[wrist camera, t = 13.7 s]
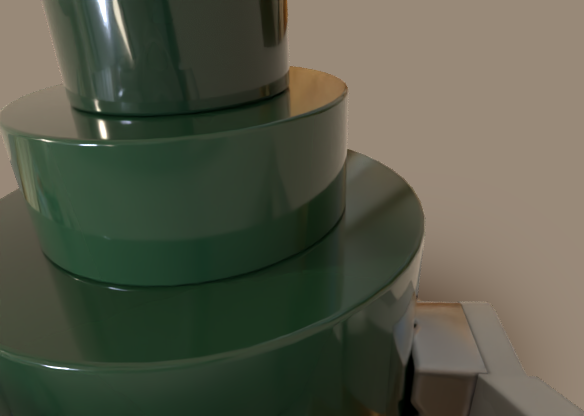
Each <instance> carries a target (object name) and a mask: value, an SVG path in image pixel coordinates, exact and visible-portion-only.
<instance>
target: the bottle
mask: <svg viewBox="0 0 584 416" xmlns="http://www.w3.org/2000/svg"><path fill="white" fill-rule="evenodd" d="M41 2H42V6H43V10H44V14H45V17H46V21H47V25H48V29H49V32H50V36H51V40H52V43H53V47H54V51H55V55H56V59H57V62H58V66H59V70H60V74H61V77H62V81H63V84H60V85H56V86H53V87H49V88H45V89H42V90H39V91H36V92H33V93H31V94H28V95H26V96H23V97H21V98H19V99H17V100H15V101H13V102H11V103H9V104H8V105H7V106H5V107H4V108H2V110H1V111H0V134H1V136H2V139H3V142H4V145H5V148H6V151H7V154H8V156H9V159H10V162H11V165H12V168H13V171H14V174H15V177H16V180H17V182H18V185H19V188H18V189H17V190H15V191H13V192H11V193H10V194H8V195H6V196H5V197H3V198H1V199H0V416H403V415H404V407H405V399H406V390H407V382H408V373H409V365H410V357H411V348H412V340H413V331H414V323H415V315H416V306H417V298H418V289H419V280H420V272H421V264H422V256H423V247H424V239H425V215H424V212H423V208H422V204H421V202H420V200H419V198H418V196H417V194H416V193H415V191H414V190H413V188H412V187H411V186H410V185H409V184H408V182H407V181H406V180H405V179H404V178H403V177H401V176H400V175H399V174H398V173H396V172H395V171H394V170H393V169H391V168H389V167H388V166H386V165H384V164H383V163H381V162H379V161H377V160H375V159H373V158H370V157H368V156H366V155H364V154H361V153H358V152H355V151H353V150H350V149H347V133H348V93H349V91H348V88H347V86H346V83H345V82H344V81H342V80H341V79H339V78H337V77H335V76H333V75H330V74H328V73H325V72H321V71H317V70H312V69H307V68H301V67H293V66H289V40H288V13H287V0H41Z"/></svg>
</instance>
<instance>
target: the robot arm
mask: <svg viewBox="0 0 584 416" xmlns="http://www.w3.org/2000/svg"><path fill="white" fill-rule="evenodd" d="M403 416H584V411H583V410H582V409H581V408H579V407H578V406H576V405H575V404H573V403H572V402H571V401H570V400H568V399H567V398H565V397H564V396H563V395H562V394H560V393H559V392H557V391H556V390H555V389H554V388H552V387H551V386H549V385H548V384H547V383H545V382H544V381H542V380H541V379H540V378H539V377H532V376H527V374H526V372H525V370H524V368H523V366H522V364H521V362H520V360H519V358H518V356H517V354H516V352H515V350H514V348H513V346H512V344H511V342H510V340H509V338H508V336H507V334H506V332H505V330H504V328H503V326H502V323H501V321H500V319H499V317H498V315H497V314H496V311H495V310H494V307H493V305H491V304H490V303H489V302H458V303H456V302H422V301H417V306H416V315H415V323H414V331H413V340H412V348H411V357H410V365H409V373H408V382H407V390H406V399H405V407H404V415H403Z"/></svg>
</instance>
